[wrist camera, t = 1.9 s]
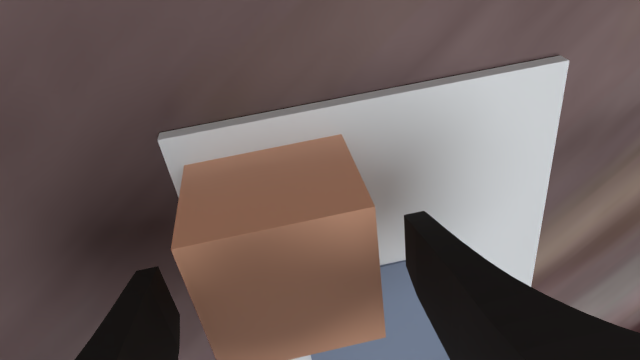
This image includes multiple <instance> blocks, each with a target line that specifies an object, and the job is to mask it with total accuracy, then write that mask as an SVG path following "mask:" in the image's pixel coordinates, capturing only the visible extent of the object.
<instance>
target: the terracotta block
mask: <svg viewBox="0 0 640 360" xmlns="http://www.w3.org/2000/svg"><path fill="white" fill-rule="evenodd" d="M171 251H172V254H173V256H174V259H175V261H176V264H177V266H178V268H179V271H180V273H181V276H182V278H183V280H184V283H185V285H186V288H187V290H188V293H189V295H190V297H191V300H192V302H193V305H194V307H195V309H196V312H197V314H198V317H199V319H200V322H201V324H202V326H203V329H204V331H205V334H206V336H207V338H208V341H209V343H210V346H211V348H212V351H213V353H214V355H215V358H216V360H291V359H295V358H299V357H303V356H308V355H312V354H316V353H321V352H325V351H329V350H334V349H338V348H342V347H347V346H351V345H355V344H360V343H364V342H368V341H373V340H377V339H381V338H386V332H385V320H384V308H383V296H382V284H381V272H380V259H379V247H378V235H377V223H376V211H375V205H374V203H373V201H372V199H371V197H370V194H369V192H368V190H367V188H366V186H365V184H364V181H363V179H362V177H361V175H360V173H359V171H358V169H357V166H356V164H355V162H354V160H353V158H352V156H351V153H350V151H349V149H348V147H347V145H346V143H345V140H344V138H343V136H342V134H339V135H334V136H329V137H324V138H319V139H314V140H309V141H304V142H299V143H294V144H289V145H284V146H279V147H274V148H269V149H264V150H259V151H254V152H249V153H244V154H239V155H234V156H229V157H224V158H219V159H213V160H208V161H203V162H198V163H193V164H188V165H184V169H183V175H182V181H181V188H180V194H179V200H178V207H177V213H176V219H175V226H174V232H173V238H172V245H171Z"/></svg>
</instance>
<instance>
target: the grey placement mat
mask: <svg viewBox="0 0 640 360" xmlns="http://www.w3.org/2000/svg"><path fill="white" fill-rule="evenodd" d="M568 65H569V60H568V59H566V58H564V57H562V56H554V57H549V58H544V59H539V60H534V61H529V62H523V63H518V64H513V65H508V66H503V67H498V68H492V69H487V70H482V71H477V72H472V73H466V74H461V75H456V76H451V77H446V78H441V79H435V80H430V81H425V82H420V83H415V84H410V85H404V86H399V87H394V88H389V89H384V90H378V91H373V92H368V93H363V94H358V95H353V96H347V97H342V98H337V99H332V100H327V101H322V102H316V103H311V104H306V105H301V106H296V107H290V108H285V109H280V110H275V111H270V112H265V113H259V114H254V115H249V116H244V117H239V118H234V119H228V120H223V121H218V122H213V123H208V124H203V125H197V126H192V127H187V128H182V129H177V130H171V131H166V132H161V133H159V136H158V140H157V141H158V143H159V146H160V149H161V151H162V154H163V157H164V159H165V162H166V165H167V168H168V170H169V173H170V176H171V178H172V181H173V184H174V186H175V189H176V192H177V195H178V197H179V194H180V188H181V181H182V175H183V169H184V165H188V164H193V163H198V162H203V161H208V160H213V159H219V158H224V157H229V156H234V155H239V154H244V153H249V152H254V151H259V150H264V149H269V148H274V147H279V146H284V145H289V144H294V143H299V142H304V141H309V140H314V139H319V138H324V137H329V136H334V135H339V134H342V136H343V138H344V140H345V143H346V145H347V147H348V149H349V151H350V153H351V156H352V158H353V160H354V162H355V164H356V166H357V169H358V171H359V173H360V175H361V177H362V179H363V181H364V184H365V186H366V188H367V190H368V192H369V194H370V197H371V199H372V201H373V203H374V205H375V211H376V223H377V235H378V247H379V259H380V272H381V284H382V296H383V308H384V320H385V332H386V338H381V339H377V340H373V341H368V342H364V343H360V344H355V345H351V346H347V347H342V348H338V349H334V350H329V351H325V352H321V353H316V354H312V355H308V356H303V357H299V358H295V359H291V360H450V359H449V357H448V355H447V353H446V351H445V349H444V347H443V345H442V344H441V342H440V340H439V338H438V336H437V334H436V332H435V330H434V328H433V326H432V324H431V322H430V320H429V318H428V317H427V315H426V313H425V311H424V309H423V307H422V305H421V303H420V301H419V299H418V297H417V295H416V292H415V289H414V287H413V284H412V281H411V279H410V276H409V273H408V270H407V267H406V257H405V231H404V215H406V214H411V213H415V212H420V211H425V212H427V213H428V214H429V215H430V216H431V217H433V218H434V219H435V220H436V221H437V222H439V223H440V224H441V225H442V226H443V227H445V228H446V229H447V230H448V231H450V232H451V233H452V234H453V235H455V236H456V237H457V238H458V239H460V240H461V241H462V242H463V243H465V244H466V245H467V246H469V247H470V248H471V249H473V250H474V251H475V252H477V253H478V254H479V255H481V256H482V257H484V258H485V259H487V260H488V261H489V262H491V263H492V264H494V265H495V266H497V267H498V268H500V269H501V270H503V271H504V272H506V273H508V274H509V275H511V276H512V277H514V278H516V279H518V280H519V281H521V282H523V283H525V284H527V285H528V286H530V287H531V284H532V278H533V272H534V266H535V260H536V254H537V248H538V242H539V236H540V231H541V225H542V219H543V213H544V207H545V201H546V195H547V189H548V183H549V177H550V172H551V166H552V160H553V154H554V148H555V142H556V136H557V130H558V124H559V118H560V113H561V107H562V101H563V95H564V89H565V83H566V77H567V71H568Z"/></svg>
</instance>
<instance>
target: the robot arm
mask: <svg viewBox="0 0 640 360" xmlns="http://www.w3.org/2000/svg"><path fill="white" fill-rule="evenodd" d="M404 231H405V257H406V267H407V270H408V273H409V276H410V279H411V281H412V284H413V287H414V289H415V292H416V295H417V297H418V299H419V301H420V303H421V305H422V307H423V309H424V311H425V313H426V315H427V317H428V318H429V320H430V322H431V324H432V326H433V328H434V330H435V332H436V334H437V336H438V338H439V340H440V342H441V344H442V345H443V347H444V349H445V351H446V353H447V355H448V357H449V359H450V360H640V333H638V332H635V331H632V330H629V329H625V328H622V327H620V326H617V325H614V324H612V323H609V322H606V321H604V320H601V319H599V318H596V317H594V316H591V315H589V314H586V313H584V312H582V311H579V310H577V309H575V308H572V307H570V306H568V305H566V304H564V303H562V302H560V301H557V300H555V299H553V298H551V297H549V296H547V295H545V294H543V293H541V292H539V291H537V290H535V289H534V288H532V287H530V286H528V285H527V284H525V283H523V282H521V281H519V280H518V279H516V278H514V277H512V276H511V275H509V274H508V273H506V272H504V271H503V270H501V269H500V268H498V267H497V266H495V265H494V264H492V263H491V262H489V261H488V260H487V259H485V258H484V257H482V256H481V255H479V254H478V253H477V252H475V251H474V250H473V249H471V248H470V247H469V246H467V245H466V244H465V243H463V242H462V241H461V240H460V239H458V238H457V237H456V236H455V235H453V234H452V233H451V232H450V231H448V230H447V229H446V228H445V227H443V226H442V225H441V224H440V223H439V222H437V221H436V220H435V219H434V218H433V217H431V216H430V215H429V214H428V213H427V212H425V211H420V212H415V213H411V214H406V215H404ZM179 338H180V315H179V312H178V310H177V308H176V306H175V303H174V301H173V299H172V297H171V294H170V292H169V290H168V288H167V286H166V283H165V281H164V279H163V277H162V274H161V272H160V270H159V268H158V267H153V268H148V269H144V270H139V271H136V272H135V274H134V275H133V277H132V278H131V280H130V281H129V283H128V284H127V286H126V287H125V289H124V290H123V292H122V293H121V295H120V296H119V298H118V299H117V301H116V302H115V304H114V305H113V307H112V308H111V310H110V311H109V313H108V314H107V316H106V317H105V319H104V320H103V322H102V323H101V325H100V326H99V327H98V329H97V330H96V332H95V333H94V335H93V336H92V337H91V339H90V340H89V342H88V343H87V344H86V345H85V347H84V348H83V349H82V351H81V352H80V353H79V355H78V356H77V357H76V359H75V360H178V354H179Z"/></svg>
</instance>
